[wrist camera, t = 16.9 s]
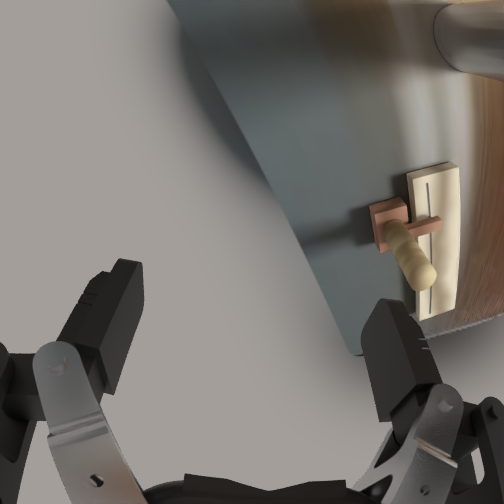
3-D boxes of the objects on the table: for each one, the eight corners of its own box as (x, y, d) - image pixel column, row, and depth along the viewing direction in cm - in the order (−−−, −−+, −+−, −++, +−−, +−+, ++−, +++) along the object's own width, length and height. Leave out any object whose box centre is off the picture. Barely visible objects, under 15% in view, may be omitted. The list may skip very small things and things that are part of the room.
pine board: (450, 161, 35) (458, 167, 33) (450, 300, 48) (454, 308, 46) (406, 173, 36) (412, 179, 34) (415, 312, 50) (419, 321, 48)
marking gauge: (426, 189, 37) (474, 240, 27) (428, 226, 40) (470, 282, 30) (368, 205, 39) (403, 263, 29) (375, 242, 42) (405, 305, 32)
